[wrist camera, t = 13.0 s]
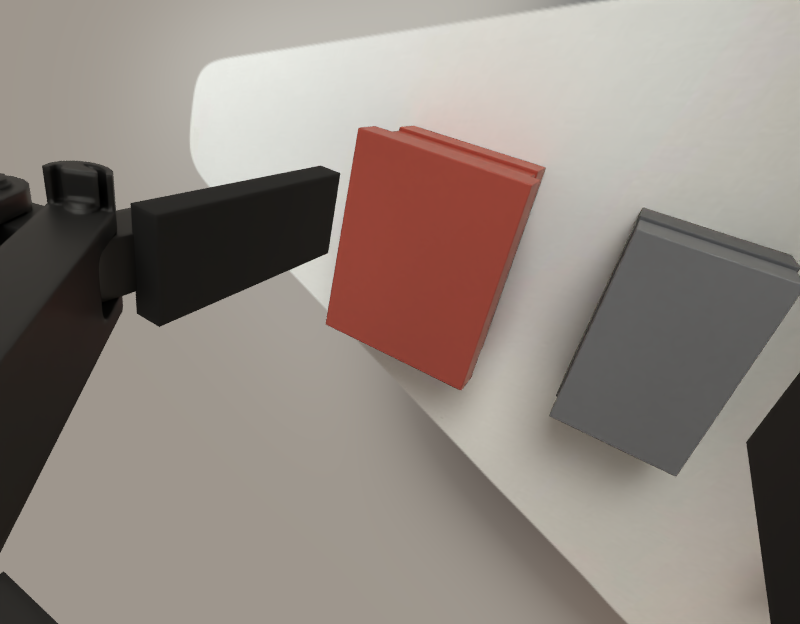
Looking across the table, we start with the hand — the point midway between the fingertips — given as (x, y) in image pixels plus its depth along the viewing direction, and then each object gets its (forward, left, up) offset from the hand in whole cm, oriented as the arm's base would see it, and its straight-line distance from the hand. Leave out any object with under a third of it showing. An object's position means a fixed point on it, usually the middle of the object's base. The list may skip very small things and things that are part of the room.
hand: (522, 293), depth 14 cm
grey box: (+7, +6, -20) cm, 22 cm away
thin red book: (+7, -9, -16) cm, 20 cm away
